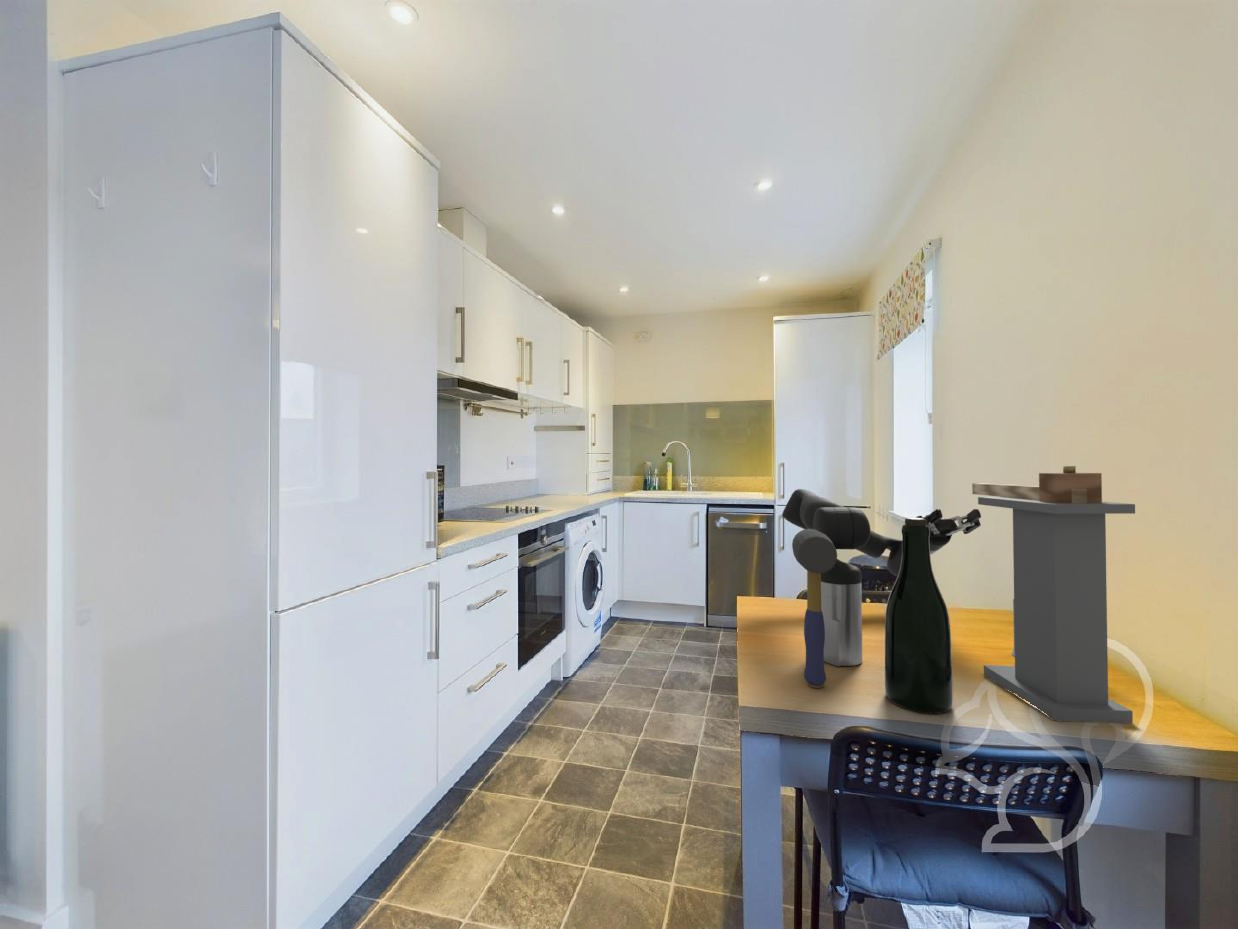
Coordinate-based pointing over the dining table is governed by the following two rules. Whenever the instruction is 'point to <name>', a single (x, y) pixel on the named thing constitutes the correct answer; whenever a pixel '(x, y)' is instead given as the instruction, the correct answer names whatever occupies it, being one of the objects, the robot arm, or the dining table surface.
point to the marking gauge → (1051, 488)
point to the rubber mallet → (814, 598)
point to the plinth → (1060, 609)
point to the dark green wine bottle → (918, 630)
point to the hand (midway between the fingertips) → (958, 512)
